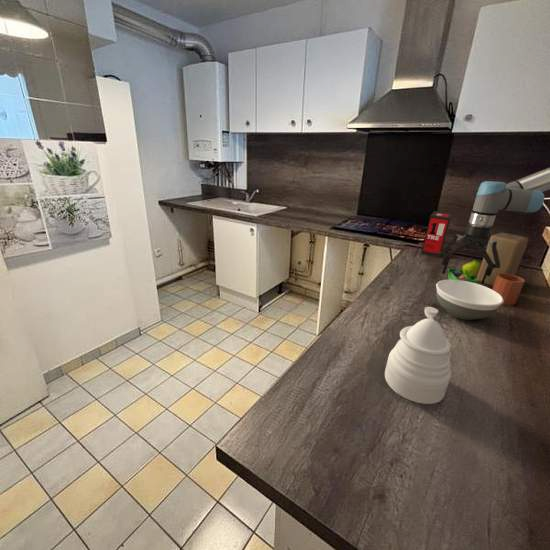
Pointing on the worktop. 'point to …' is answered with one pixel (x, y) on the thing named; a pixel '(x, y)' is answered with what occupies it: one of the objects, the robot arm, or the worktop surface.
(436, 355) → the honey pot
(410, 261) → the worktop surface
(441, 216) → the cleaning product box
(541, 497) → the worktop surface
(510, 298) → the terracotta plant pot
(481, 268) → the wooden block
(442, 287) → the bowl
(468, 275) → the fruit basket
